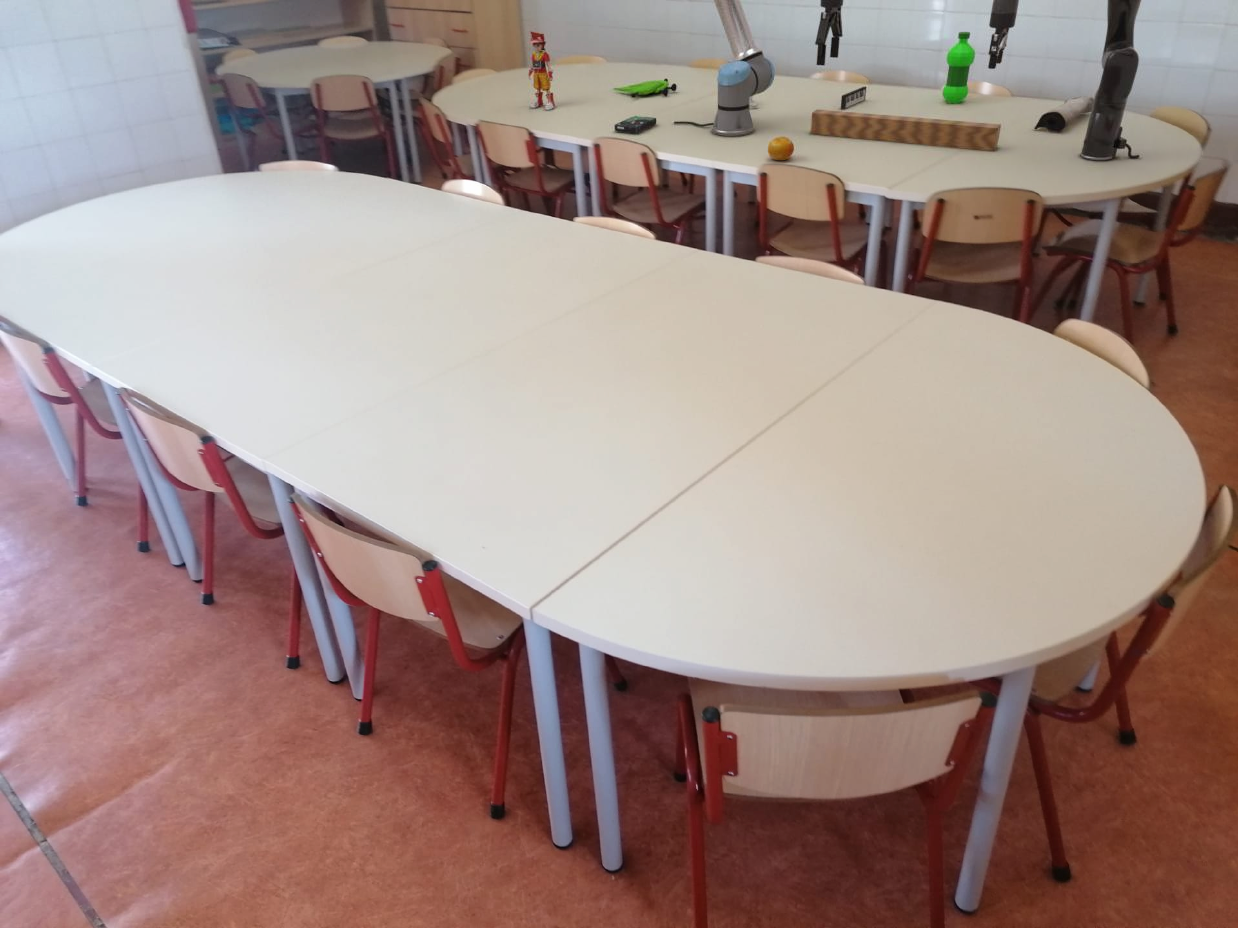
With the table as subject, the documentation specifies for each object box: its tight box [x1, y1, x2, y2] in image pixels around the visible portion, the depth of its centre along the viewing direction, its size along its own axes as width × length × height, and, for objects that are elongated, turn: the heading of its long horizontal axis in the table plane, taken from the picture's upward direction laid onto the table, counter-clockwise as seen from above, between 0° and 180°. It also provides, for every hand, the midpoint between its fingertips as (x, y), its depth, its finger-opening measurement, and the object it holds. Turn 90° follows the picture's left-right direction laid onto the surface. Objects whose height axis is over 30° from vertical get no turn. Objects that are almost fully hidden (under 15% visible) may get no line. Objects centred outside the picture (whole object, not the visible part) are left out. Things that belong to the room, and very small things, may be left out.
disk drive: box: [614, 115, 657, 135], centre depth 346 cm, size 10×3×15 cm
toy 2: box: [612, 78, 677, 99], centre depth 396 cm, size 28×5×30 cm
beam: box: [810, 109, 1002, 152], centre depth 314 cm, size 64×5×8 cm, turn 59°
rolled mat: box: [1034, 96, 1094, 133], centre depth 322 cm, size 30×9×10 cm
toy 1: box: [527, 31, 556, 111], centre depth 374 cm, size 12×9×30 cm
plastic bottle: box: [942, 31, 976, 104], centre depth 348 cm, size 10×10×25 cm
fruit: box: [767, 136, 795, 161], centre depth 303 cm, size 8×8×8 cm
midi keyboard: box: [840, 86, 867, 110], centre depth 358 cm, size 18×1×5 cm, turn 138°
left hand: (827, 61), depth 315 cm, fingers open, 13 cm apart
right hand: (994, 66), depth 289 cm, fingers open, 8 cm apart
